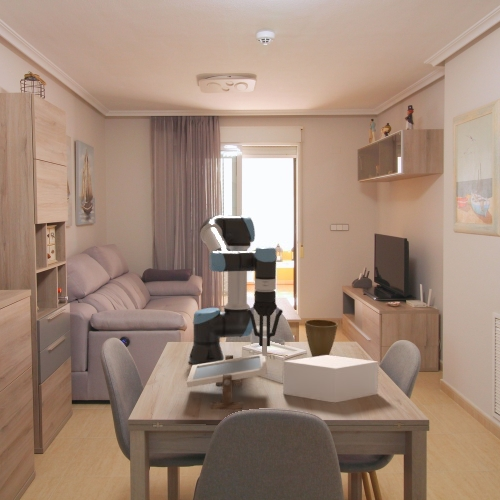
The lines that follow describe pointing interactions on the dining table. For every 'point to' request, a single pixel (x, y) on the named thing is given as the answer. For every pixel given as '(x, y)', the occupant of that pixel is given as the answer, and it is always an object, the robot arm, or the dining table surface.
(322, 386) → the block
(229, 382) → the walnut stand
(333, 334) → the plant pot
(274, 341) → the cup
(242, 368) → the tilted frame
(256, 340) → the candle holder
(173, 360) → the dining table surface
